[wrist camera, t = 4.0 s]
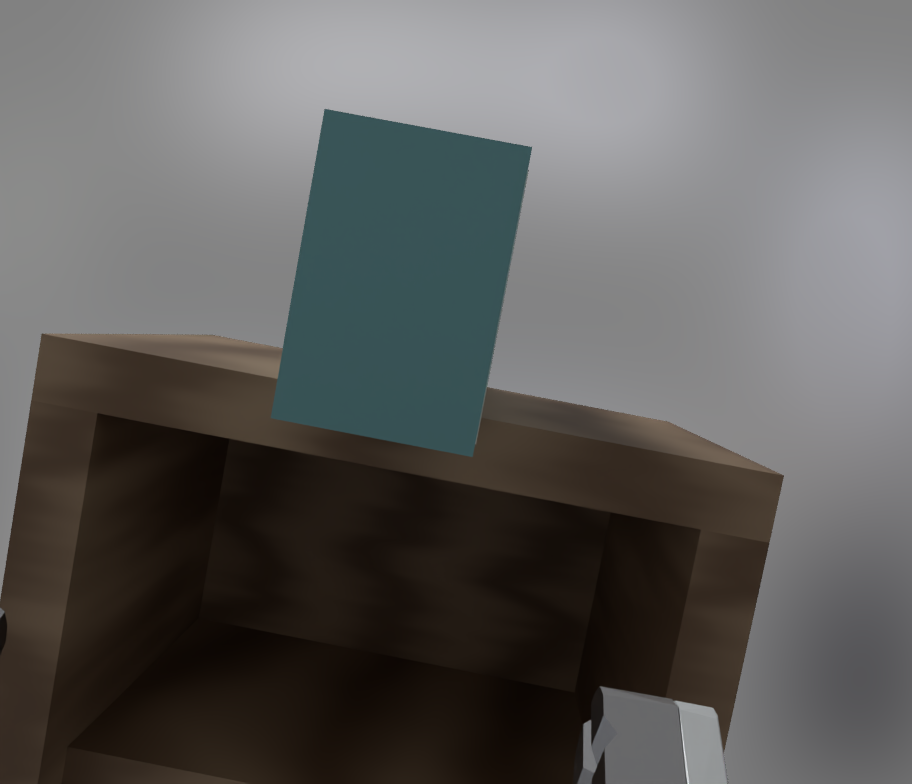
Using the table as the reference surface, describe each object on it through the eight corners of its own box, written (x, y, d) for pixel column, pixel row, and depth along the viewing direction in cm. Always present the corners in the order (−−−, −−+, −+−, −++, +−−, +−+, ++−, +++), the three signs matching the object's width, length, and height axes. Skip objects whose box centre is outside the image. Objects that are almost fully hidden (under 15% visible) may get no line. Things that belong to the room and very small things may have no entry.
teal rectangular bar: (481, 387, 41) (505, 258, 40) (474, 460, 17) (534, 145, 17) (394, 371, 41) (418, 242, 41) (267, 420, 17) (322, 105, 17)
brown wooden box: (561, 940, 43) (668, 421, 41) (605, 1296, 27) (784, 475, 25) (124, 851, 43) (211, 334, 42) (-86, 1149, 27) (41, 333, 26)
